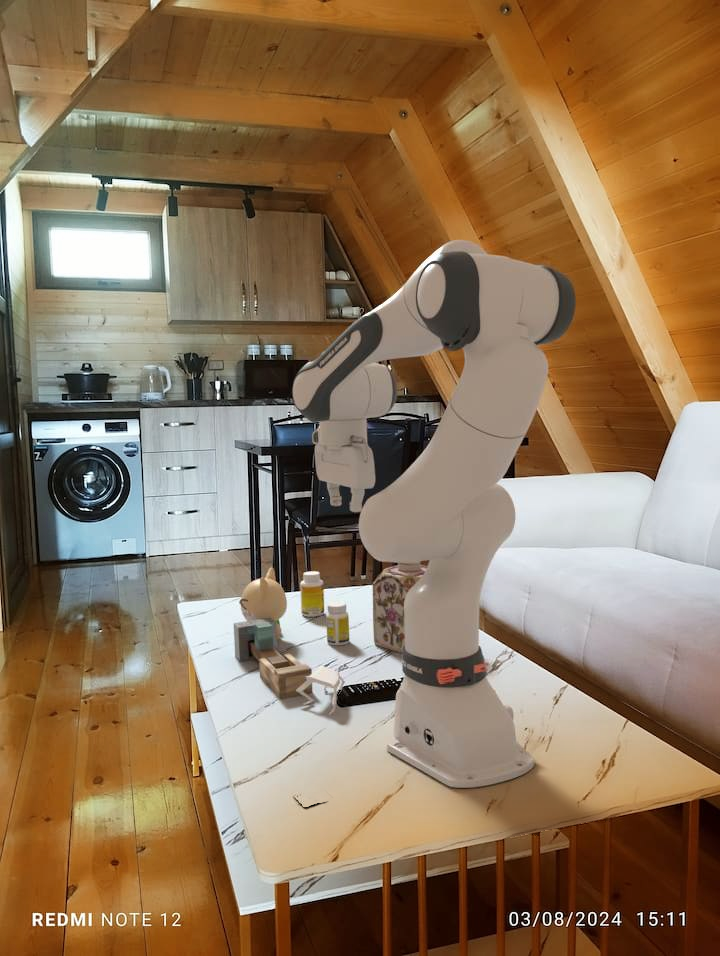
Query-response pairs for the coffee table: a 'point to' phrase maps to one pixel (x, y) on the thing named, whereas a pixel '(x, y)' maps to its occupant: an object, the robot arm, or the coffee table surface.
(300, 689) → the origami figure
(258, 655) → the slide bar
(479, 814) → the coffee table surface
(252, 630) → the socket block
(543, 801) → the coffee table surface
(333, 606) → the supplement bottle
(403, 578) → the decorative jar
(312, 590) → the supplement bottle
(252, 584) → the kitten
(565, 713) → the coffee table surface
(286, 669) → the guide channel
